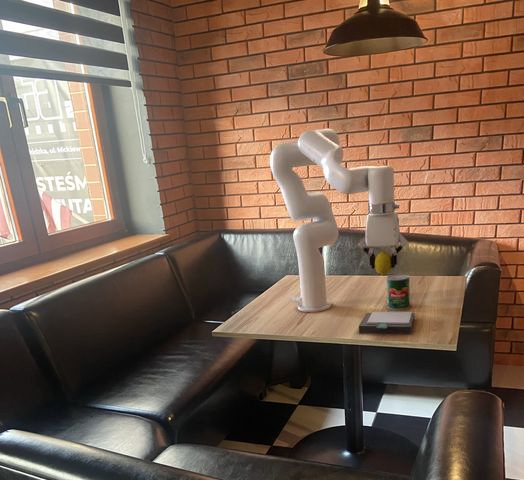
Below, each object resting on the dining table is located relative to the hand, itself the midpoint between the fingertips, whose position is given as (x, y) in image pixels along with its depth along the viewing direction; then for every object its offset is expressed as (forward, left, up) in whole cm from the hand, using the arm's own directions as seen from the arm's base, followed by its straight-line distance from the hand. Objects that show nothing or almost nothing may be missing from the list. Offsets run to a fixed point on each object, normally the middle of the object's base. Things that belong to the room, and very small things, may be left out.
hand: (383, 266), depth 169 cm
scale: (+1, -3, -19) cm, 20 cm away
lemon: (0, 0, -3) cm, 3 cm away
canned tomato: (+2, +21, -20) cm, 29 cm away
